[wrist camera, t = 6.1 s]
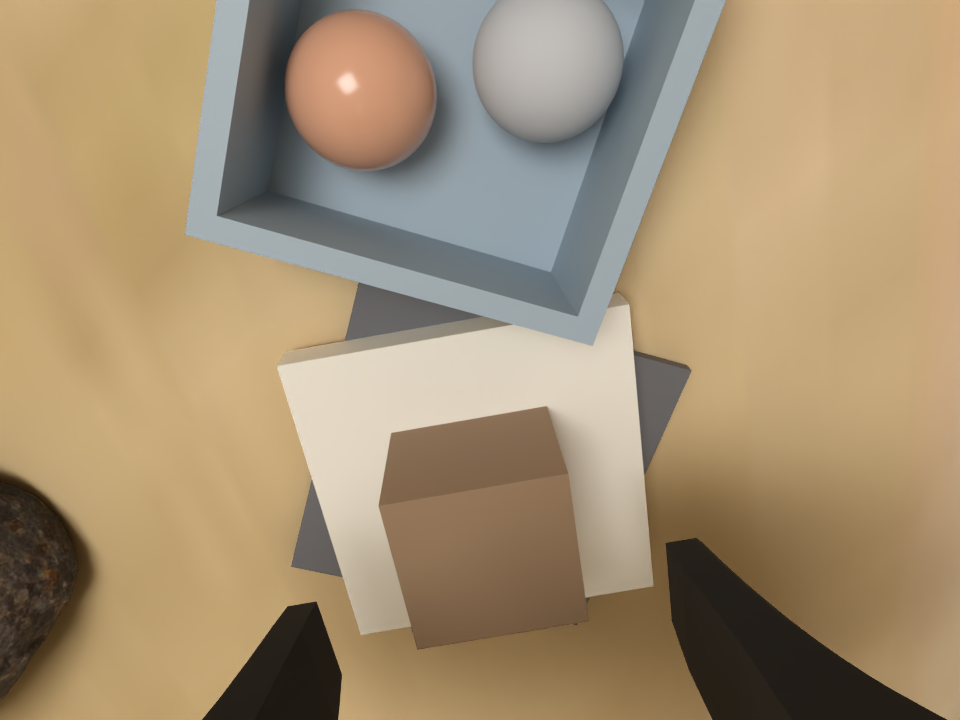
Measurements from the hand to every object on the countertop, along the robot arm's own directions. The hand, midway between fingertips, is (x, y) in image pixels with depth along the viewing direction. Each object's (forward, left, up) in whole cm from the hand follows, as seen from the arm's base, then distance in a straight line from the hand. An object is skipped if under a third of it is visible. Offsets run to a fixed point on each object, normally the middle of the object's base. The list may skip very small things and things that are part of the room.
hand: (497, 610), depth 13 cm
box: (+4, -9, -6) cm, 12 cm away
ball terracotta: (+5, -9, -5) cm, 11 cm away
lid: (0, 0, -5) cm, 5 cm away
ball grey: (+2, -10, -5) cm, 12 cm away
